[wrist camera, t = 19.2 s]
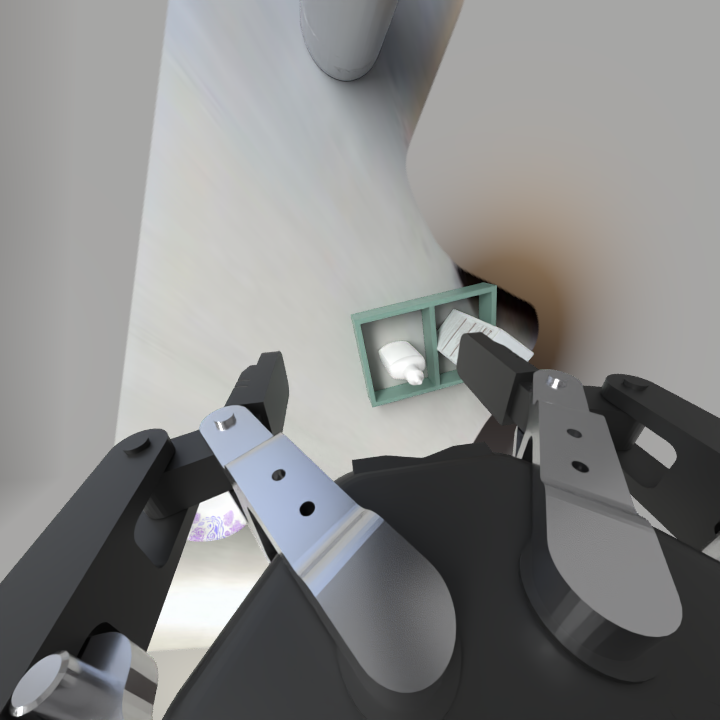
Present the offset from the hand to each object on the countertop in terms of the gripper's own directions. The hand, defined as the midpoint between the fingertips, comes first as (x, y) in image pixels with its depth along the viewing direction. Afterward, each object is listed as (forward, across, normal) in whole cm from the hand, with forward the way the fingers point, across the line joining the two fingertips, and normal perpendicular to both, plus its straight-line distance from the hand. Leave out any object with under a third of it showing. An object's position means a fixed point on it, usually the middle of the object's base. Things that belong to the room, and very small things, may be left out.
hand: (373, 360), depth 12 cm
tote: (+30, -14, +15) cm, 36 cm away
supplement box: (+31, -20, +14) cm, 39 cm away
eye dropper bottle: (+30, -8, +15) cm, 35 cm away
